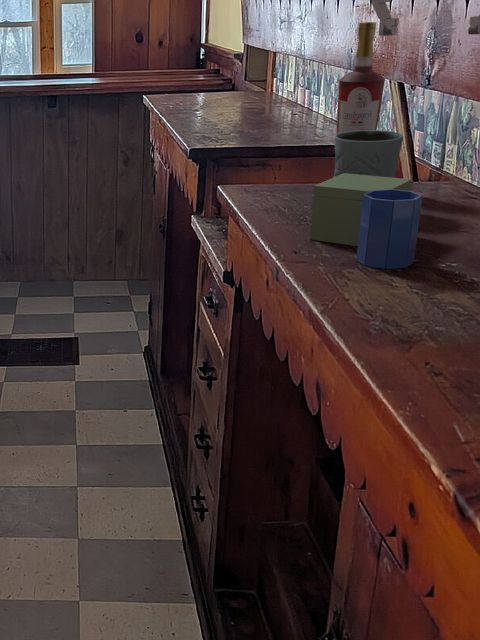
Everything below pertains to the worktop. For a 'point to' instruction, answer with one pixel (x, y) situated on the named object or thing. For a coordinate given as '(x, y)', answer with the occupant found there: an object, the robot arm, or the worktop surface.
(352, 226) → the shelf
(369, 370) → the worktop surface
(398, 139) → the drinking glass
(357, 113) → the liquor
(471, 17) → the robot arm
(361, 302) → the worktop surface
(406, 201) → the cup
